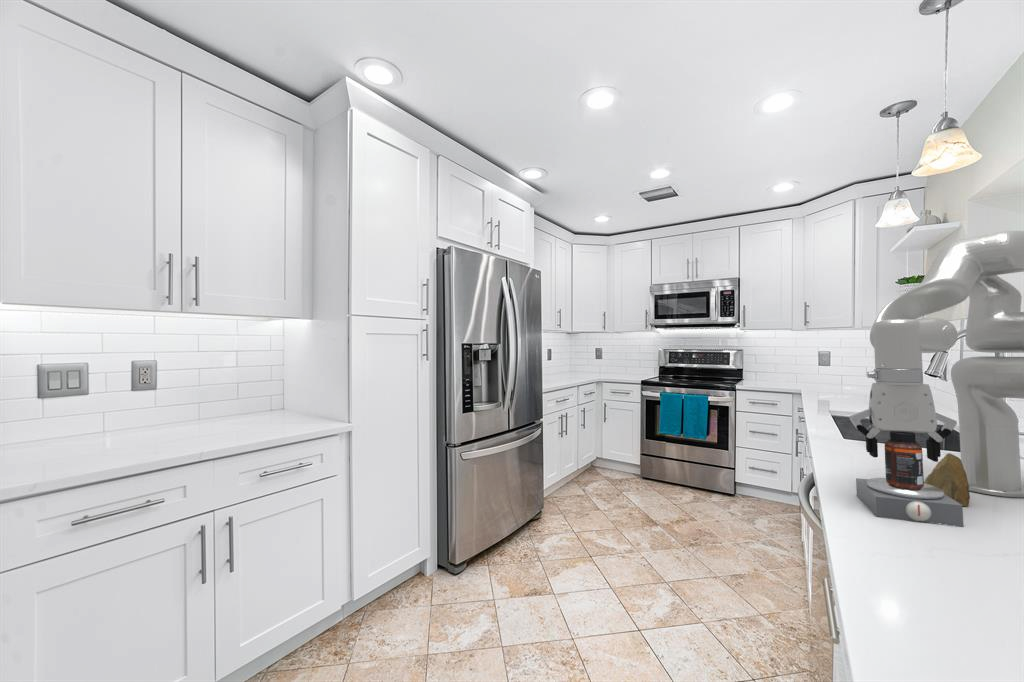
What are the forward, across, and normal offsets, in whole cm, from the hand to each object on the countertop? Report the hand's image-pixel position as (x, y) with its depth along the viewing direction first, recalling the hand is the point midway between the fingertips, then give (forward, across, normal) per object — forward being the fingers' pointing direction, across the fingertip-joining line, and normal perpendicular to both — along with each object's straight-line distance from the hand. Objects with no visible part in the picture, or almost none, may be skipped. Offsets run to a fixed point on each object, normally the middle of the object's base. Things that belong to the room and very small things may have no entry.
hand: (902, 458), depth 91 cm
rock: (+11, +10, +12) cm, 19 cm away
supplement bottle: (+6, 0, 0) cm, 6 cm away
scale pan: (+7, 0, 0) cm, 7 cm away
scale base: (+11, 0, 0) cm, 11 cm away
